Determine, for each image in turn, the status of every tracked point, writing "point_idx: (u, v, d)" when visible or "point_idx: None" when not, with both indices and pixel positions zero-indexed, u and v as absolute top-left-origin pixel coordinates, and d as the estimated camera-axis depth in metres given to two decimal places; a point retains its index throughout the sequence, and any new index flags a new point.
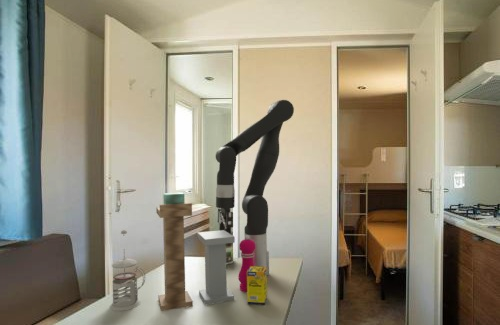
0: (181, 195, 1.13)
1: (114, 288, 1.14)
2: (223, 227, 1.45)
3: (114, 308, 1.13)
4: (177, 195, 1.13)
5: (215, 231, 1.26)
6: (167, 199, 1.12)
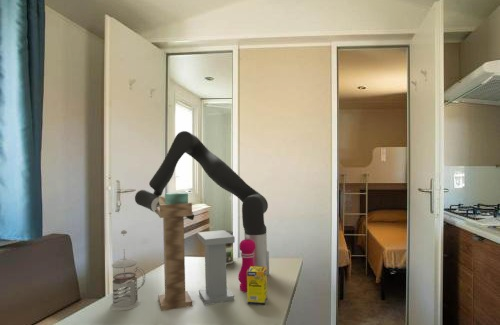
0: (185, 195, 1.14)
1: (114, 288, 1.14)
2: None
3: (114, 308, 1.13)
4: (181, 195, 1.14)
5: (215, 231, 1.26)
6: (171, 199, 1.12)
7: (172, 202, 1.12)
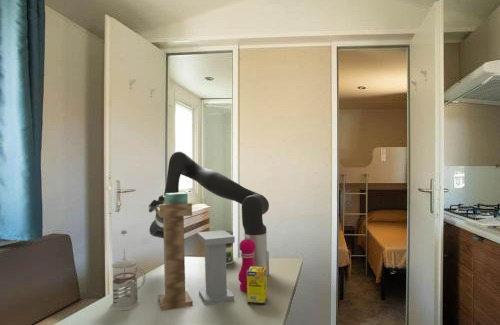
0: (184, 195, 1.14)
1: (114, 288, 1.14)
2: None
3: (114, 308, 1.13)
4: (180, 195, 1.13)
5: (215, 231, 1.26)
6: (171, 199, 1.12)
7: (171, 202, 1.12)
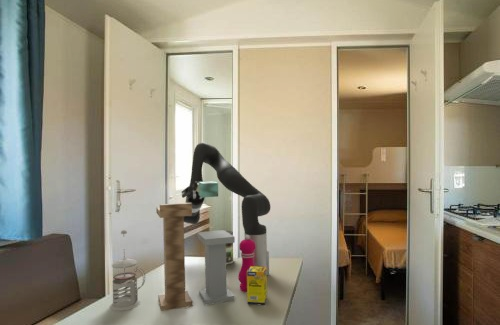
0: (215, 184, 1.27)
1: (114, 288, 1.14)
2: None
3: (114, 308, 1.13)
4: (212, 184, 1.27)
5: (215, 231, 1.26)
6: (203, 187, 1.26)
7: (204, 190, 1.26)
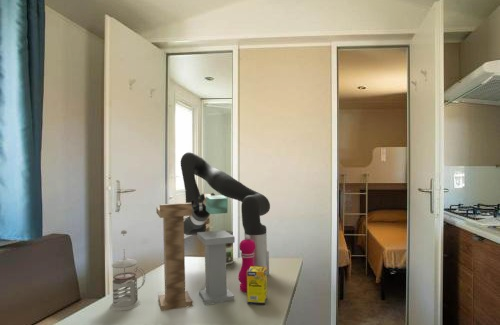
0: (224, 199, 1.16)
1: (114, 288, 1.14)
2: None
3: (114, 308, 1.13)
4: (221, 199, 1.15)
5: (215, 231, 1.26)
6: (211, 203, 1.14)
7: (212, 206, 1.15)
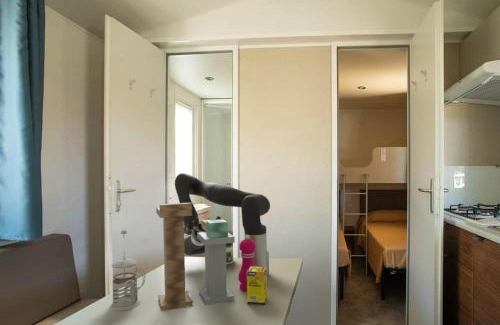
0: (224, 223, 1.16)
1: (114, 288, 1.14)
2: (216, 219, 1.34)
3: (114, 308, 1.13)
4: (221, 223, 1.16)
5: None
6: (211, 227, 1.15)
7: (212, 231, 1.15)
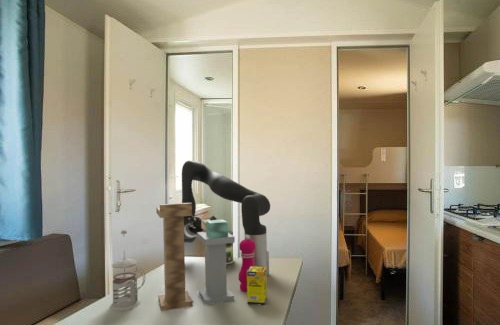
0: (224, 223, 1.16)
1: (114, 288, 1.14)
2: (211, 218, 1.45)
3: (114, 308, 1.13)
4: (221, 223, 1.16)
5: None
6: (211, 227, 1.15)
7: (212, 231, 1.15)
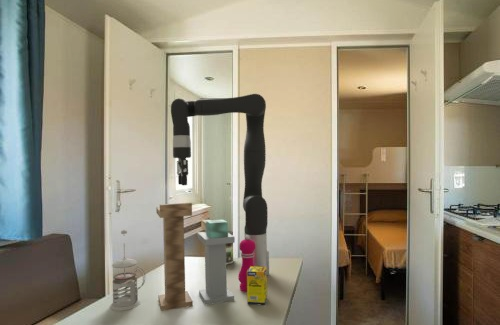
0: (224, 223, 1.16)
1: (114, 288, 1.14)
2: None
3: (114, 308, 1.13)
4: (221, 223, 1.16)
5: None
6: (211, 227, 1.15)
7: (212, 231, 1.15)
